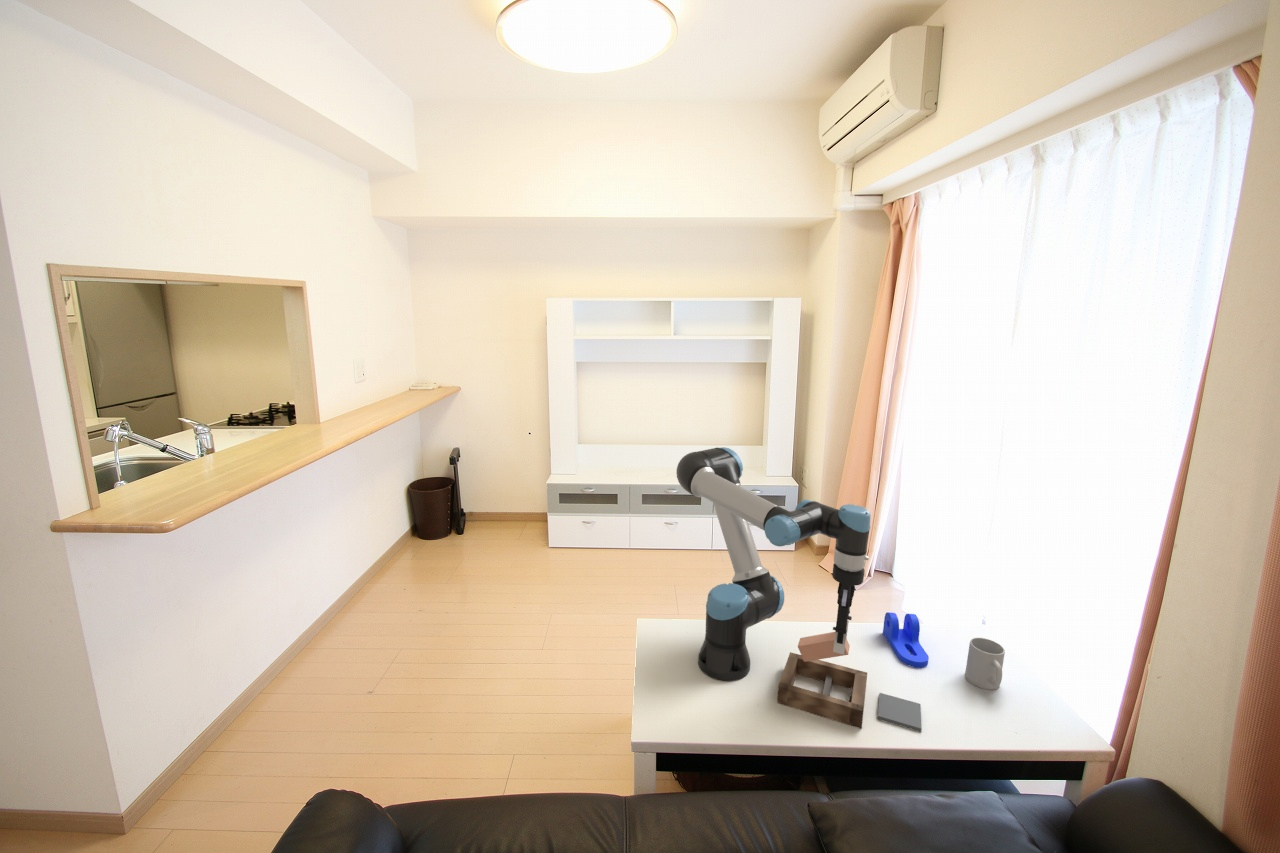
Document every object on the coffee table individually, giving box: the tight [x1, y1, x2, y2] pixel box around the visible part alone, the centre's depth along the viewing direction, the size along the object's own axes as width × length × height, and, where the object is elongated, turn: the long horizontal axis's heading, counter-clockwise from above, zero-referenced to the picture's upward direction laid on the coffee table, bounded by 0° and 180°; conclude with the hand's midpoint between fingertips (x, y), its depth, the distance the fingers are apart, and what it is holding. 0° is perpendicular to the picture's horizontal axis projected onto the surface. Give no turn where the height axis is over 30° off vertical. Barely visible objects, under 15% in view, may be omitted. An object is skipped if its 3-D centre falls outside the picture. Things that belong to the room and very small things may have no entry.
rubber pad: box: [877, 692, 923, 733], centre depth 143 cm, size 10×10×1 cm
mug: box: [964, 637, 1006, 691], centre depth 154 cm, size 12×8×11 cm
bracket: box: [882, 612, 930, 669], centre depth 170 cm, size 18×8×9 cm, turn 175°
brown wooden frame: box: [776, 651, 868, 730], centre depth 149 cm, size 21×17×5 cm
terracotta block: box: [797, 631, 851, 662], centre depth 147 cm, size 12×4×4 cm, turn 64°
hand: (839, 647), depth 145 cm, fingers closed on terracotta block, 4 cm apart
